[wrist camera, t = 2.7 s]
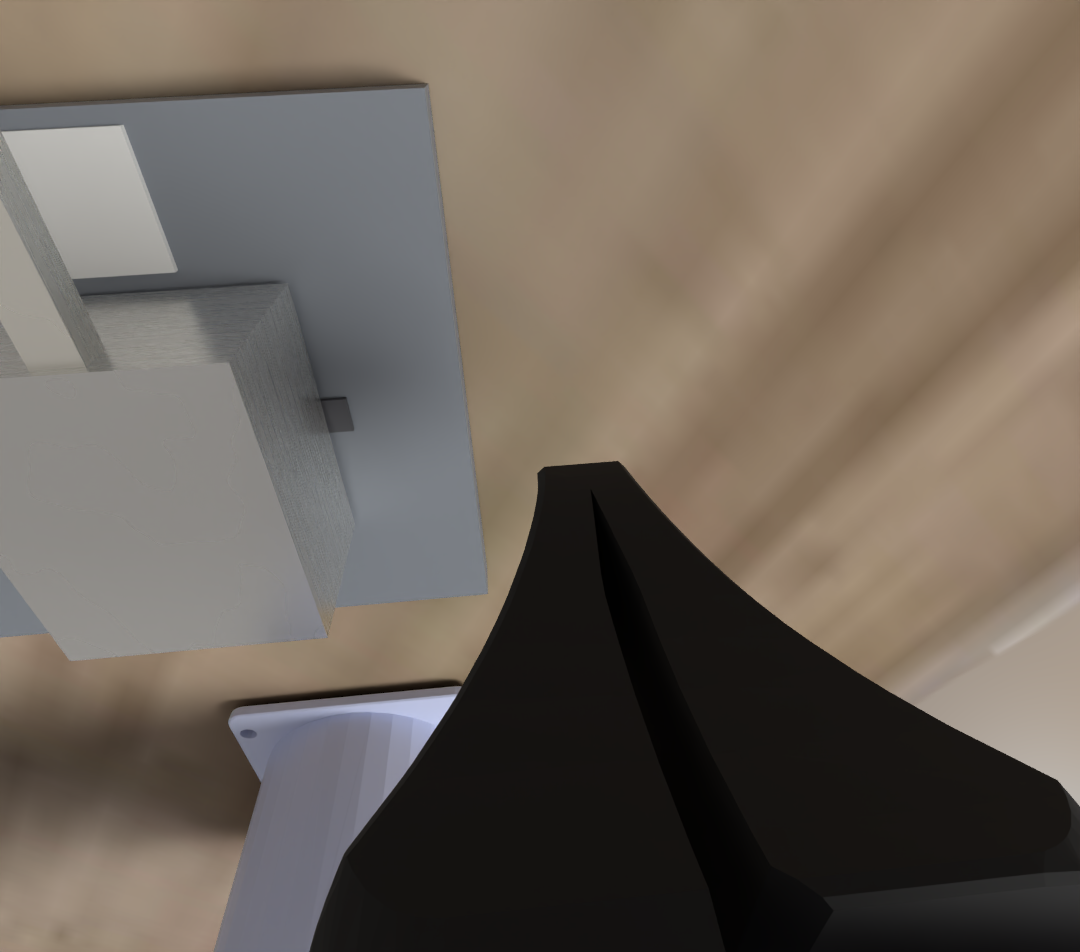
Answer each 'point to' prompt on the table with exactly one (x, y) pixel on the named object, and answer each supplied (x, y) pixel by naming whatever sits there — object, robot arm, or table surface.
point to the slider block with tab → (160, 458)
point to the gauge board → (292, 284)
